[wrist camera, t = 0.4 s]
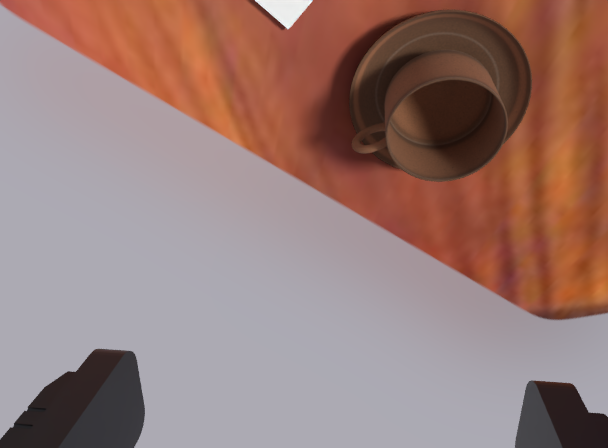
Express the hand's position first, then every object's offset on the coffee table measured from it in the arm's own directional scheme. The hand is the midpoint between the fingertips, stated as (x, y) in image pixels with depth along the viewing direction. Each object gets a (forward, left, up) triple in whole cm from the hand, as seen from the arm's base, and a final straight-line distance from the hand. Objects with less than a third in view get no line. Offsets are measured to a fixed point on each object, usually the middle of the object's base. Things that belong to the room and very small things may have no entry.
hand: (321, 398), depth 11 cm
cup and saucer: (+10, -1, -29) cm, 31 cm away
